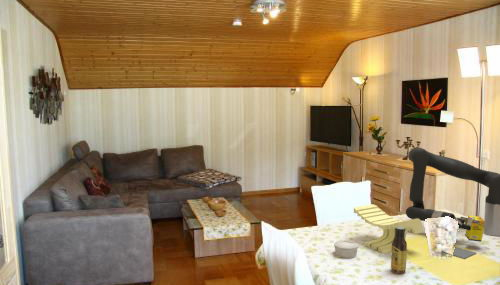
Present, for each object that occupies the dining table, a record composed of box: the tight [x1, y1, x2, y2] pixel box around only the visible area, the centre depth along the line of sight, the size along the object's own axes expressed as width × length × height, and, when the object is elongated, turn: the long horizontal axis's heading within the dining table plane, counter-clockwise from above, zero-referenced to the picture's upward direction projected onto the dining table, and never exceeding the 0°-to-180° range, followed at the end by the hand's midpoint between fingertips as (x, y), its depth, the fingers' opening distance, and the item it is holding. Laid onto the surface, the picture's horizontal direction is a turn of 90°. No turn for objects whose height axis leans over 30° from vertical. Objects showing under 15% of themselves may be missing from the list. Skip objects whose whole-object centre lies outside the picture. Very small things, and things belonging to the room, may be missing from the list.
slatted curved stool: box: [353, 204, 423, 254], centre depth 209 cm, size 30×16×18 cm, turn 27°
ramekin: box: [333, 240, 359, 259], centre depth 200 cm, size 11×11×5 cm
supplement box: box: [464, 215, 485, 243], centre depth 205 cm, size 6×6×11 cm
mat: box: [452, 246, 477, 260], centre depth 200 cm, size 11×11×1 cm
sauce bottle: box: [390, 226, 408, 274], centre depth 179 cm, size 7×6×20 cm
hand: (474, 226), depth 205 cm, fingers closed on supplement box, 8 cm apart
